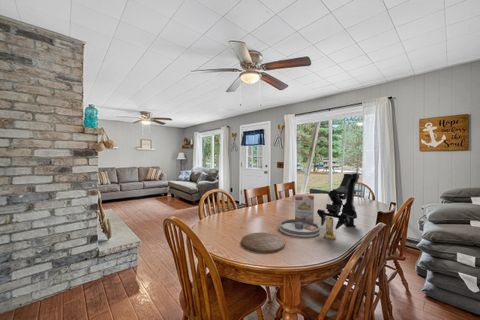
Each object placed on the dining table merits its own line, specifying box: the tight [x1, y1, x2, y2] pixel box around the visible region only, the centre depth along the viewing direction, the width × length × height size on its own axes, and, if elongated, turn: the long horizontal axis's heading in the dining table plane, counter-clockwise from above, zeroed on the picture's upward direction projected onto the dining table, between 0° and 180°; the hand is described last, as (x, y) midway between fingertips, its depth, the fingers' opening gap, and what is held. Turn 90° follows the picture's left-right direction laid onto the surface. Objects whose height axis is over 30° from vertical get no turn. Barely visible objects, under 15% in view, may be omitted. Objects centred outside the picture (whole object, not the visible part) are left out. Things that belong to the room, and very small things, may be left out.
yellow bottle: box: [323, 216, 337, 240], centre depth 127 cm, size 7×7×12 cm
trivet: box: [241, 232, 286, 254], centre depth 118 cm, size 25×25×2 cm
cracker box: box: [294, 193, 315, 223], centre depth 159 cm, size 14×6×21 cm, turn 73°
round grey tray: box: [278, 218, 321, 238], centre depth 141 cm, size 27×27×4 cm
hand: (328, 227), depth 126 cm, fingers open, 8 cm apart
